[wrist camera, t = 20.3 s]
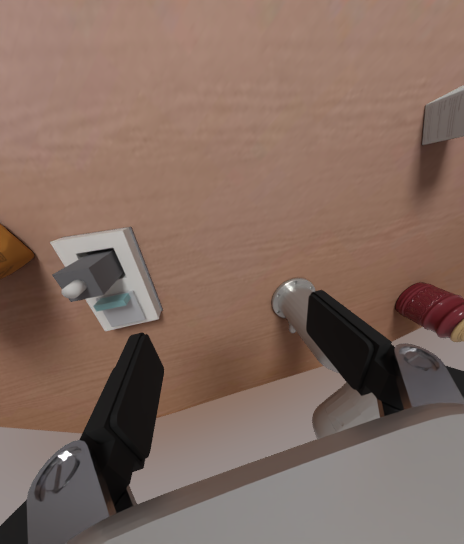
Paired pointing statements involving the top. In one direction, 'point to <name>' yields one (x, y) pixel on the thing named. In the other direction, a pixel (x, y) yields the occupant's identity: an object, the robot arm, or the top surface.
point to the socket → (130, 261)
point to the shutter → (120, 308)
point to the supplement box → (444, 117)
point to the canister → (434, 310)
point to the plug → (90, 275)
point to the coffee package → (12, 253)
